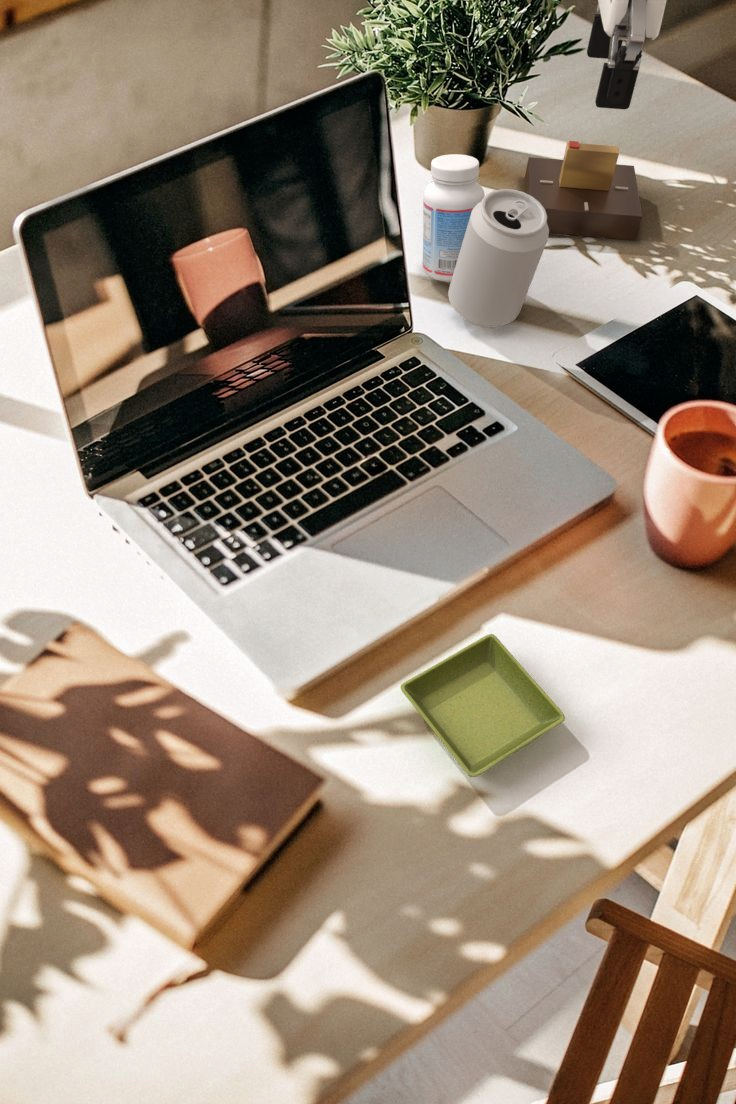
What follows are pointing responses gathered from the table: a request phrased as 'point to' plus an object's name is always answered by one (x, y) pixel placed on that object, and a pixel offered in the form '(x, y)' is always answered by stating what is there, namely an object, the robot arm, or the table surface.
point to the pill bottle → (448, 212)
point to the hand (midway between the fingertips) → (606, 81)
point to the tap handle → (588, 166)
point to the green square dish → (482, 704)
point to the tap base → (586, 202)
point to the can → (498, 257)
